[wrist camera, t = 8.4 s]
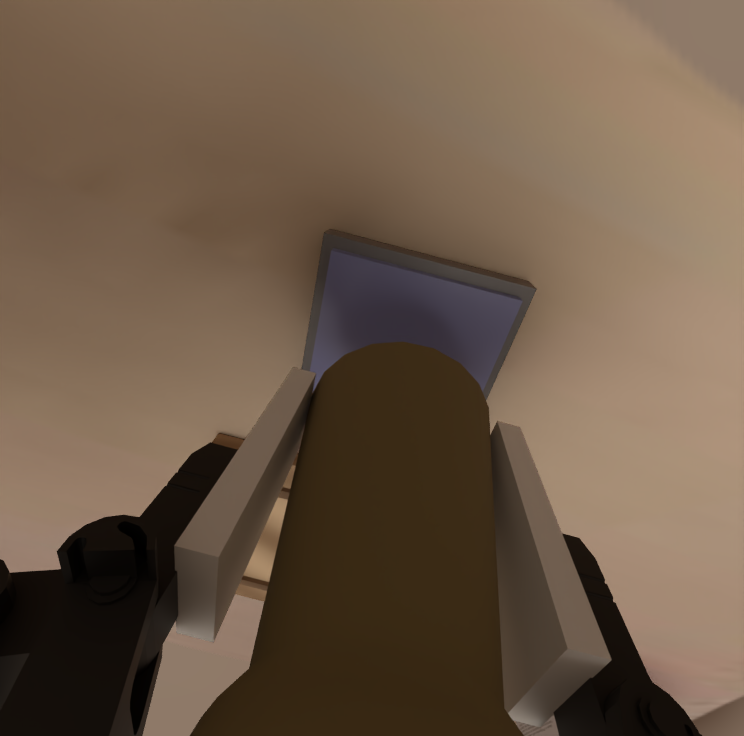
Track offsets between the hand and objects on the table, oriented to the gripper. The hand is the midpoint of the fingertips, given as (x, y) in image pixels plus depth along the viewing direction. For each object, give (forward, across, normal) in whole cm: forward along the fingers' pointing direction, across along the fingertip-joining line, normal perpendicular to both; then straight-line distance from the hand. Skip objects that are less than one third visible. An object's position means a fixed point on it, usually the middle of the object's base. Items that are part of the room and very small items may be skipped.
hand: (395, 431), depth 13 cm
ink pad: (+7, 0, 0) cm, 7 cm away
